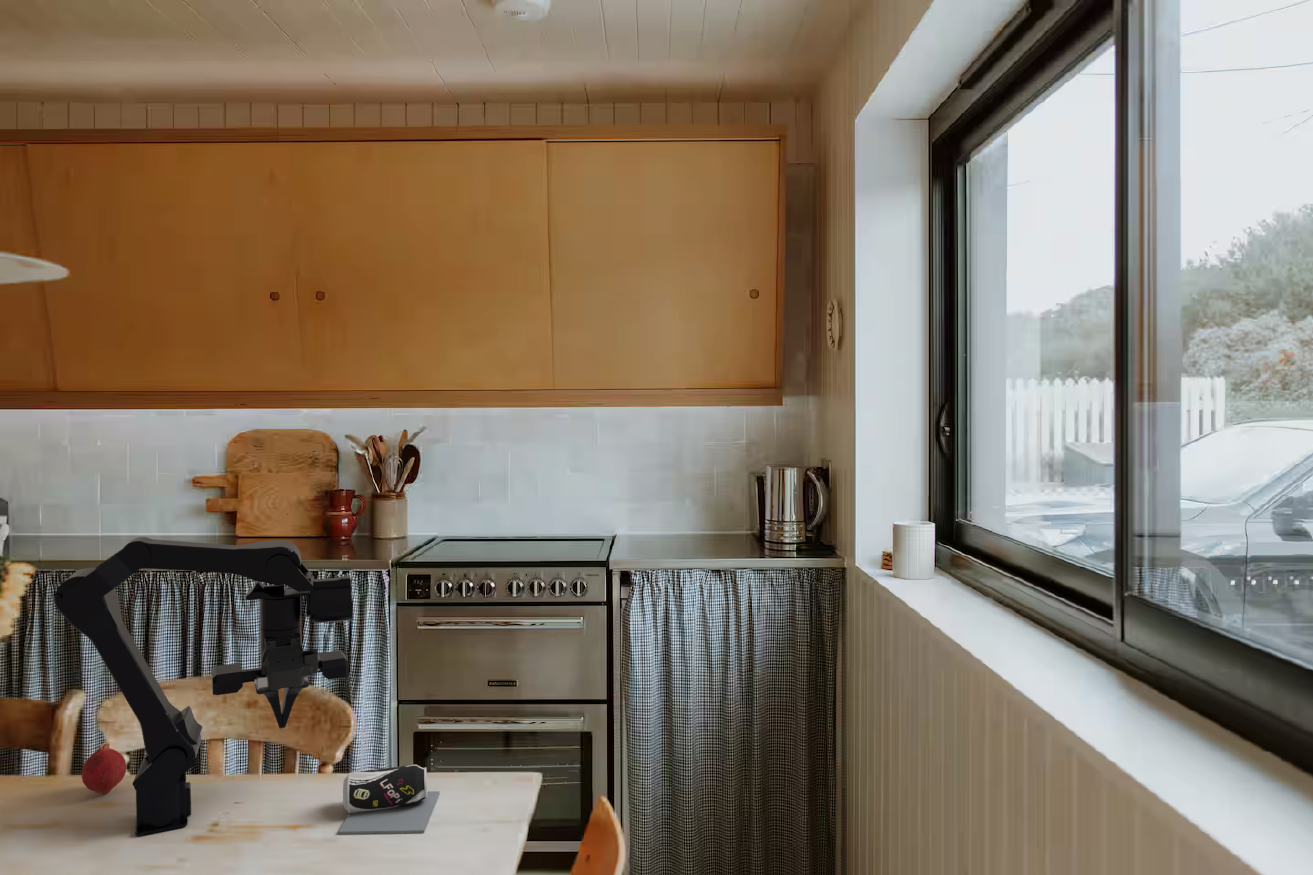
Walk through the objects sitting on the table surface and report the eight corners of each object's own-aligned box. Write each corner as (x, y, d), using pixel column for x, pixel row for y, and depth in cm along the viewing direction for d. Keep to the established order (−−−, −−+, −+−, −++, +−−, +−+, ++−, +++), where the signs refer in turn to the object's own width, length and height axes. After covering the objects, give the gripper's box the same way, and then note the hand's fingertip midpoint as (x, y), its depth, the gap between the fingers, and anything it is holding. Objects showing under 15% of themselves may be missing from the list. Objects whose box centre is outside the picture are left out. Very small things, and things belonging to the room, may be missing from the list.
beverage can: (341, 778, 127) (426, 767, 130) (345, 769, 133) (426, 759, 136) (342, 819, 127) (427, 807, 130) (346, 808, 132) (428, 797, 135)
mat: (338, 834, 124) (338, 831, 124) (361, 794, 136) (361, 792, 136) (424, 832, 124) (424, 830, 124) (439, 793, 136) (439, 791, 136)
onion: (105, 804, 131) (103, 752, 131) (72, 800, 132) (71, 749, 132) (135, 787, 137) (134, 737, 136) (104, 783, 138) (103, 734, 138)
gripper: (213, 648, 119) (214, 759, 120) (355, 631, 128) (355, 735, 129) (210, 628, 129) (212, 731, 130) (342, 613, 138) (343, 710, 139)
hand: (282, 727), depth 131 cm, fingers closed
